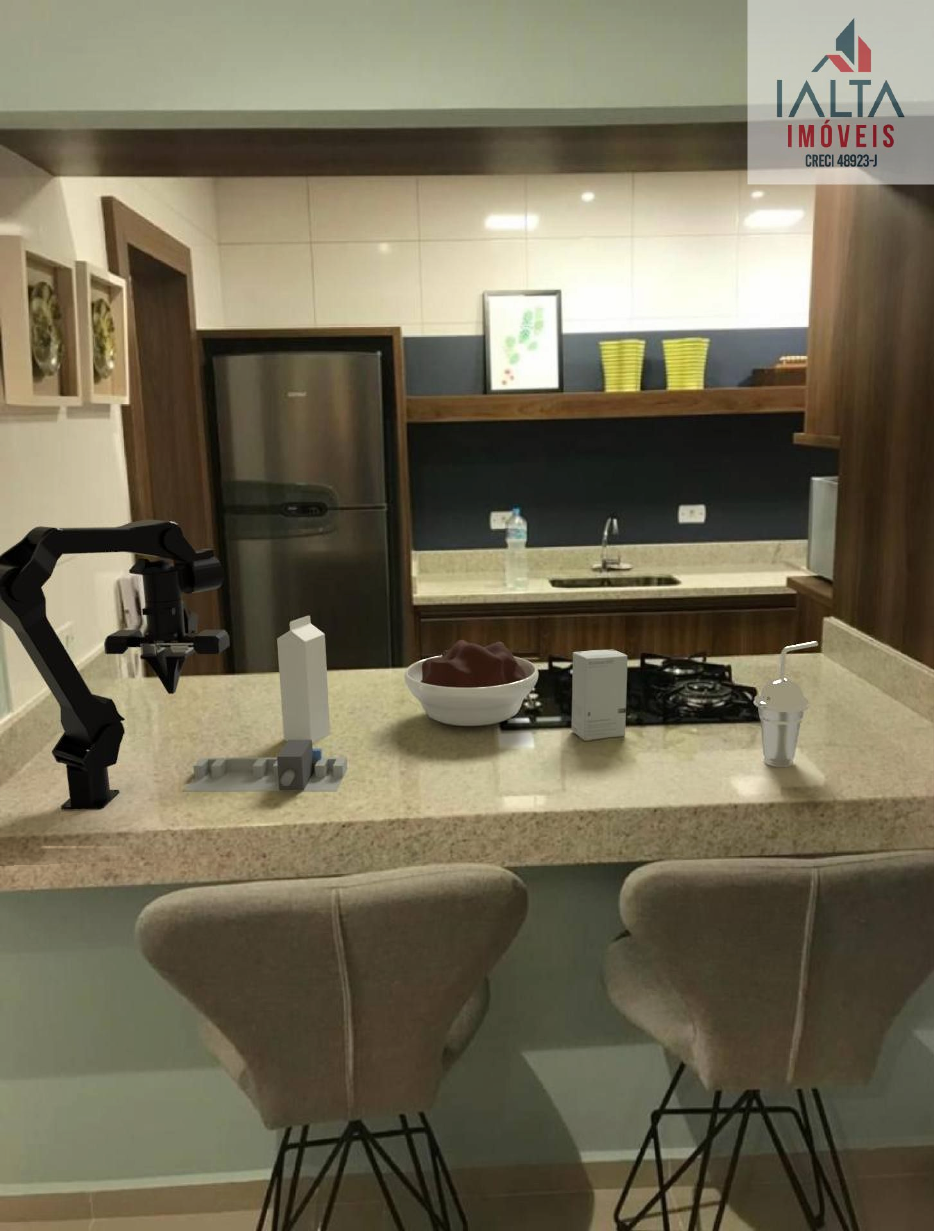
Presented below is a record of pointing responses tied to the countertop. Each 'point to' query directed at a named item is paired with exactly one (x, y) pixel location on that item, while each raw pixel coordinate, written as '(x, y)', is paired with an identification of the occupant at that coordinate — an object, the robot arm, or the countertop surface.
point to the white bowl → (471, 684)
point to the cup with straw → (781, 715)
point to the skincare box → (599, 694)
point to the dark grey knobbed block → (295, 765)
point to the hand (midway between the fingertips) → (172, 693)
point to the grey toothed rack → (262, 774)
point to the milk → (303, 682)
